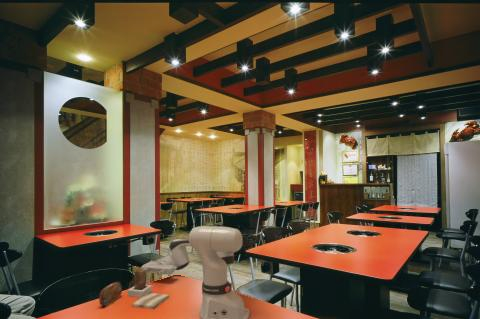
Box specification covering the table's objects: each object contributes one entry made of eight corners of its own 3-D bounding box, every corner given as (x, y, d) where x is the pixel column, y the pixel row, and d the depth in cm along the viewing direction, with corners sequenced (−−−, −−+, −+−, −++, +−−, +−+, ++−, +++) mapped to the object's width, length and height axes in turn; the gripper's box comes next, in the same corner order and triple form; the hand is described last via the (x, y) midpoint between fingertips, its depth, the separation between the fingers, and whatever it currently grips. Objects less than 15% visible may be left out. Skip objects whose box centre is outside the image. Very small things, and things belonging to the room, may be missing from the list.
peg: (145, 292, 154) (145, 269, 155) (141, 295, 151) (141, 272, 152) (139, 291, 155) (139, 269, 156) (134, 294, 152) (134, 271, 153)
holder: (152, 291, 156) (152, 285, 156) (142, 297, 148) (142, 291, 148) (137, 289, 159) (137, 284, 159) (127, 295, 150) (127, 290, 150)
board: (169, 297, 147) (169, 294, 148) (154, 309, 134) (154, 306, 134) (148, 295, 151) (148, 292, 151) (132, 306, 137) (132, 303, 137)
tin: (103, 308, 135) (103, 290, 136) (97, 308, 136) (98, 290, 136) (122, 296, 150) (122, 279, 150) (117, 295, 150) (117, 279, 151)
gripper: (178, 272, 174) (167, 280, 161) (149, 270, 180) (135, 277, 166) (178, 261, 175) (167, 268, 162) (149, 260, 180) (135, 266, 167)
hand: (150, 273), depth 164 cm, fingers open, 8 cm apart
